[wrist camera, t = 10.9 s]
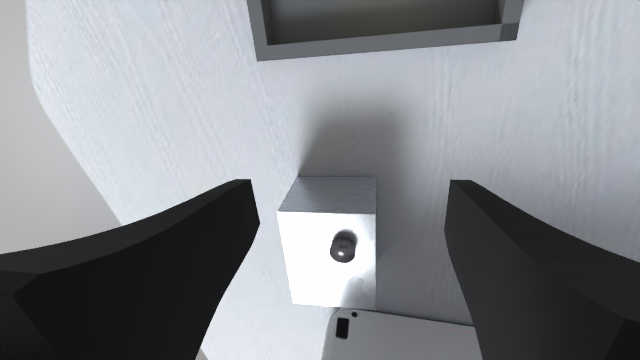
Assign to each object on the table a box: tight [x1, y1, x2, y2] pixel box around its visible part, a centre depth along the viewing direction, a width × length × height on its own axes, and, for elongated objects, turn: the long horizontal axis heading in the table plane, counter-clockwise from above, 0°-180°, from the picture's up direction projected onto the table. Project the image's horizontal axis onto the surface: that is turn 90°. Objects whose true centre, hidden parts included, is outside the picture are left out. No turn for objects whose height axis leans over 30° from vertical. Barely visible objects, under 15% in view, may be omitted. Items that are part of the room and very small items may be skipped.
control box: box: [277, 177, 376, 310], centre depth 21 cm, size 6×8×6 cm
